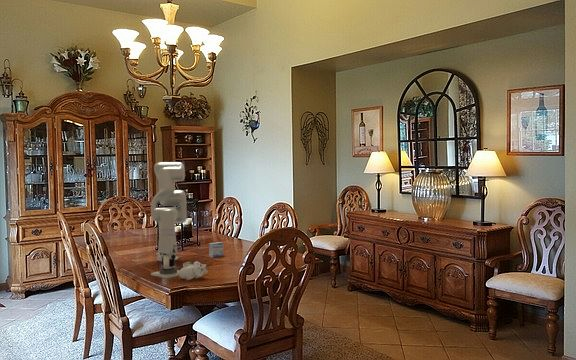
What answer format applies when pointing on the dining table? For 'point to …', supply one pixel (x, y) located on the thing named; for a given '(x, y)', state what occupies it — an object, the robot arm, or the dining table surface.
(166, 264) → the cream cap
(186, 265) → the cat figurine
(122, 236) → the dining table surface
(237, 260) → the dining table surface
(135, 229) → the dining table surface
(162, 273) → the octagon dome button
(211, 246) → the medicine box
